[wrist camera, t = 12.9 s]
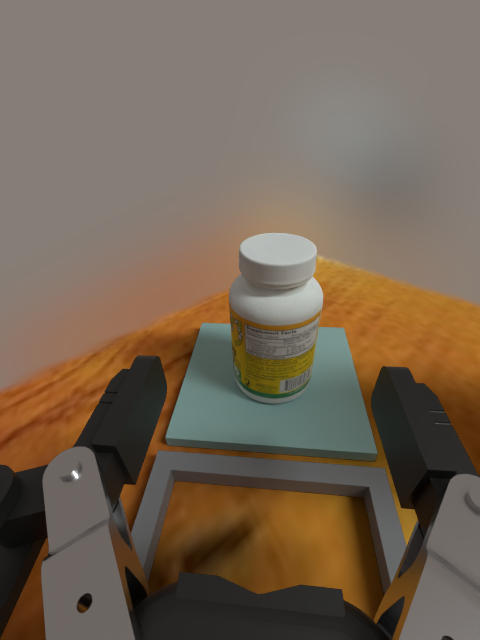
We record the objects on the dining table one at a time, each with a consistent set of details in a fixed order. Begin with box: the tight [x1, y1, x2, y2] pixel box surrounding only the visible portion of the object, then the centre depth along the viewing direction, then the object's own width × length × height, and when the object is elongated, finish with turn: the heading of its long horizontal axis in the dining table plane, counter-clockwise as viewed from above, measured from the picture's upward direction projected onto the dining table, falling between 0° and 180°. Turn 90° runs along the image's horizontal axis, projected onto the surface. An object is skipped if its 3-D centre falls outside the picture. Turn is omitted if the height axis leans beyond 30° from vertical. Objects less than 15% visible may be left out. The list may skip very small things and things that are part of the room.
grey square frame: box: [131, 450, 407, 595], centre depth 12 cm, size 12×12×1 cm
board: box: [165, 323, 378, 461], centre depth 22 cm, size 12×11×1 cm
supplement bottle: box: [229, 233, 323, 404], centre depth 19 cm, size 5×5×10 cm
